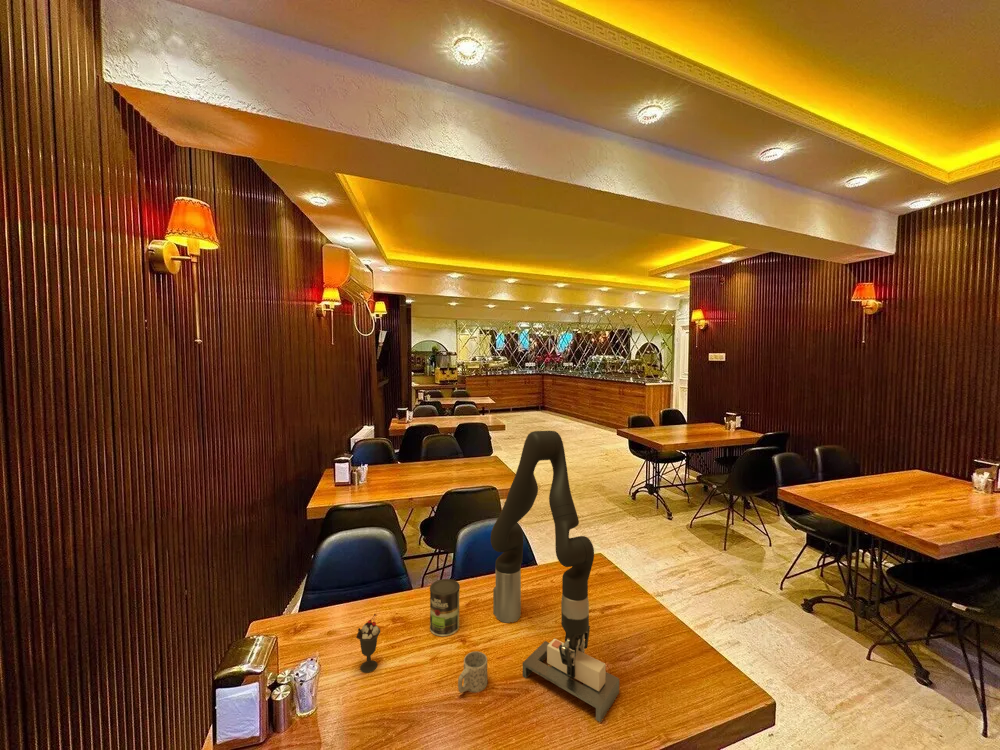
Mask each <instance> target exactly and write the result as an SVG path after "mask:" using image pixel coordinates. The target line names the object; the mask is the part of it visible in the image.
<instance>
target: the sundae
mask: <svg viewBox="0 0 1000 750" xmlns="http://www.w3.org/2000/svg"><path fill="white" fill-rule="evenodd" d="M376 616H377V614H376V613H374V614H373V616H372V618H370V620H368V621H367V622H366V623H364V624H363V626H362V627H361V628H360V627H358V628H357V631H358V632H357V634H356V639H357V640H359V643H360V650H361V654H362V655H363V656H364V657H366V660H365V661H364V662H362V664H361V665H360V667H359V670H360V671H361V672H362V673H364V674H366V673H367V674H368V673H371V672H373V671H375V670H377V667H378V662H377V661H376V660H374V659H373V660H372V655H373V654H374V653H375V652H376V650H377V645H378V644H377V643H378V637H379V635H380V634H381V629H380V628H379V626H378V625H377V623H376V621H372V620H374V619H375V617H376Z"/></svg>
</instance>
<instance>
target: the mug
mask: <svg viewBox="0 0 1000 750" xmlns="http://www.w3.org/2000/svg"><path fill="white" fill-rule="evenodd" d="M487 686H488V656H487V655H486V654H485V653H483V652H482V651H475V650H474V651H471V652H468V653H467V654H466V655H465V656H464V658H463V670H462V672H461V673H460V675H458V680H457V689H458V692H459V693H460V694H462V693H464V692H465V693H466V692H467V691H468V692H470V693H473V694H474V693H476V694H477V693H479V692H482V691H484V690H485V689H486V687H487Z"/></svg>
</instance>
